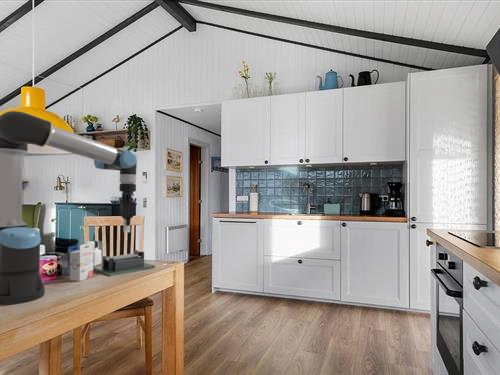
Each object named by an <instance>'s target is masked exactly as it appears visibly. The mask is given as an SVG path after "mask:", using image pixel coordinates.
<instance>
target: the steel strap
mask: <svg viewBox="0 0 500 375" xmlns="http://www.w3.org/2000/svg"><path fill="white" fill-rule="evenodd" d="M141 252H142V251H140V250H138V251H133V253H126V254H119V255H112V256H107V257H105V258H104V259H105V260H107V261H109V258H114V260H118V259H124V258H130V257H137V256H138V257H141Z"/></svg>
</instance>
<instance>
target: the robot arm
mask: <svg viewBox="0 0 500 375" xmlns="http://www.w3.org/2000/svg"><path fill="white" fill-rule="evenodd" d="M29 145H33V146H38V147H45V146H48V147H51V148H55V149H58V150H60V151H64V152H68V153H72V154H74V155H78V156H81V157H84V158H87V159H89V160H90V159H91V160H93V166H94V167H95V168H96V169H98V170H104V171H105V170H107V171H108V170H109V171H110V170H111V171H119V186H118V187H119V192H121V197H118V201H119V209H120V217H121V218H122V219H123V224H122V225H123V227H122V228H123V230H122V232H123V233H125V234H126V233H131V220H132V218H134V213H135V207H136V203H137V197H134V195H135V194H134V192H137V185H136V183H137V164H138V163H137V162H138V159H137V158H138V157H137V153H136V152H135V151H133V150H132V151H131V150H127V149H126V150H122V149H121V148H118V147H113V146H110V145H108V144H105V143H103V142H100V141H97V140H94V139H90V138H88V137H85V136H83V135H80V134H77V133H75V132H71V131H68V130H65V129H63V128H61V127H57V126H56V125H55V126H54V124H53V123H52V122H51V121H48V120H46V119H43V118H41V117H38V116H36V115H32V114H29V113H28V112H27V113H26V112H23V111H20V110H19V111H18V110H17V111H16V110H11V111H10V110H9V111H6V112H3V113H2V114H1V115H0V305H14V304H22V303H28V302H31V301H34V300H37V299H40V298H42V297H44V296H45V294H46V293H45V292H46V289H45V285H44V281H43V280H42V279H43V278H42V277H41V274H40V261H41V256H40V255H41V240H42V238H41V232H40V231H39V230H38V229H36V228H34V227H27V223H26V222H25V221H24V220H23V218H22V216H23V211H22V210H23V169H24V168H23V167H24V166H23V157H24V156H25V155H27V154H28V149H29V148H28V146H29Z"/></svg>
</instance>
